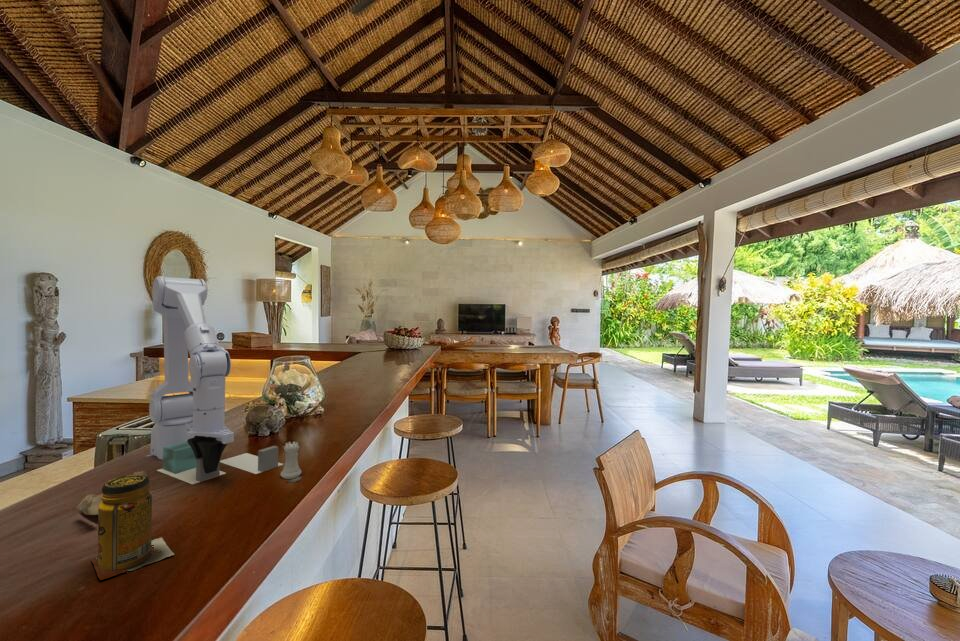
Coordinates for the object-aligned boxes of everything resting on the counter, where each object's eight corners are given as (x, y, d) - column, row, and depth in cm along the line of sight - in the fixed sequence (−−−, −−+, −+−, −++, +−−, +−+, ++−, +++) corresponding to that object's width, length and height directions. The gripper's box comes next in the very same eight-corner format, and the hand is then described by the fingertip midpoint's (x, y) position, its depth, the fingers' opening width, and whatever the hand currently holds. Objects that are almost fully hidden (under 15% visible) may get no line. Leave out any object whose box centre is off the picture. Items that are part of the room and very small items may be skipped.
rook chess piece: (293, 484, 89) (294, 447, 89) (275, 482, 90) (275, 445, 90) (306, 476, 93) (307, 441, 93) (288, 474, 94) (289, 439, 94)
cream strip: (156, 473, 92) (156, 450, 92) (190, 463, 98) (190, 441, 98) (192, 488, 86) (192, 462, 86) (226, 476, 92) (226, 452, 92)
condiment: (90, 561, 61) (91, 480, 61) (161, 538, 68) (162, 465, 67) (99, 583, 56) (100, 495, 56) (174, 556, 63) (175, 477, 63)
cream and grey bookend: (217, 464, 98) (218, 442, 98) (246, 456, 105) (246, 435, 104) (255, 477, 92) (256, 453, 92) (283, 467, 98) (284, 445, 98)
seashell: (67, 536, 67) (67, 504, 67) (96, 495, 82) (97, 468, 82) (131, 524, 72) (131, 494, 71) (149, 487, 86) (149, 462, 86)
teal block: (162, 469, 93) (163, 446, 93) (187, 462, 97) (187, 441, 97) (175, 473, 90) (175, 451, 90) (199, 466, 95) (199, 444, 95)
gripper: (169, 406, 89) (168, 469, 89) (209, 416, 82) (208, 484, 82) (204, 400, 95) (203, 459, 95) (244, 409, 88) (242, 473, 88)
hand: (208, 470), depth 89 cm, fingers closed on cream strip
